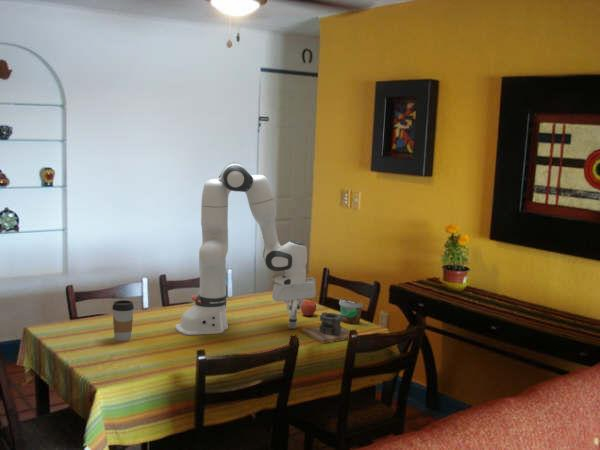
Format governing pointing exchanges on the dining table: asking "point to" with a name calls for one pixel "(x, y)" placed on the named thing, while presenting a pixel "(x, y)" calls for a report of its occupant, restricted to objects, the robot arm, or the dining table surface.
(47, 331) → the dining table surface
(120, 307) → the coffee cup
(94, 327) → the dining table surface
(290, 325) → the air tube
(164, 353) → the dining table surface
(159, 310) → the dining table surface
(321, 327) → the collar stand
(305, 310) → the apple
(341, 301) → the food container
